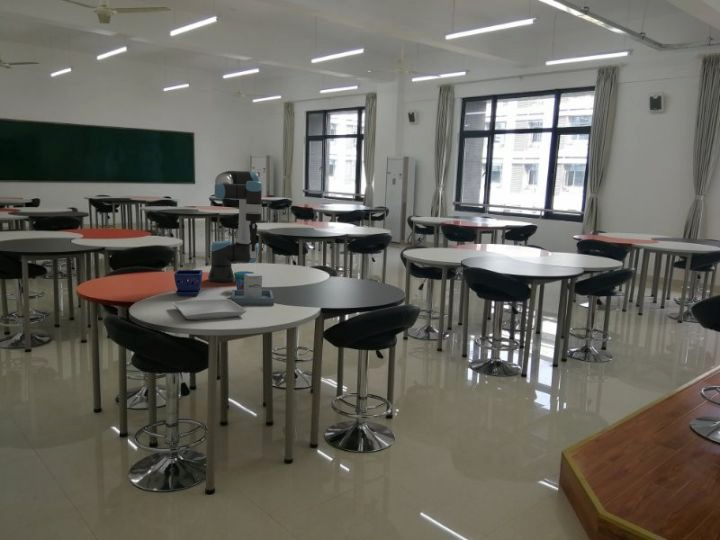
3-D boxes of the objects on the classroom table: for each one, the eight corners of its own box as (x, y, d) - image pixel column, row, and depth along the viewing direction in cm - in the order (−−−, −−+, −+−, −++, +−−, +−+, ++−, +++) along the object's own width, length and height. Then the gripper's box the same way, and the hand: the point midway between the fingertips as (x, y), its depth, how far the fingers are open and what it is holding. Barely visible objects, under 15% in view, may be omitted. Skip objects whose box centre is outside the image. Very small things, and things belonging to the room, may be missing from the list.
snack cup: (228, 289, 300) (228, 271, 299) (245, 287, 307) (246, 269, 305) (241, 294, 288) (242, 275, 287) (259, 292, 295) (260, 274, 293)
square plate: (247, 318, 242) (247, 310, 242) (184, 323, 229) (183, 314, 228) (229, 305, 265) (229, 297, 265) (170, 309, 252) (170, 301, 251)
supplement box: (247, 301, 270) (247, 275, 267) (243, 298, 276) (243, 273, 274) (261, 300, 273) (262, 275, 271) (257, 297, 279) (258, 272, 277)
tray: (232, 296, 283) (232, 289, 282) (271, 296, 287) (271, 290, 287) (231, 305, 264) (231, 298, 263) (273, 305, 268) (273, 298, 267)
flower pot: (173, 297, 275) (173, 273, 273) (176, 291, 288) (176, 269, 286) (200, 297, 278) (200, 274, 276) (203, 291, 291) (203, 269, 289)
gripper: (245, 210, 280) (244, 252, 283) (245, 214, 256) (245, 259, 259) (260, 211, 282) (259, 252, 285) (262, 215, 258) (261, 259, 261)
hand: (252, 255), depth 272 cm, fingers open, 13 cm apart
